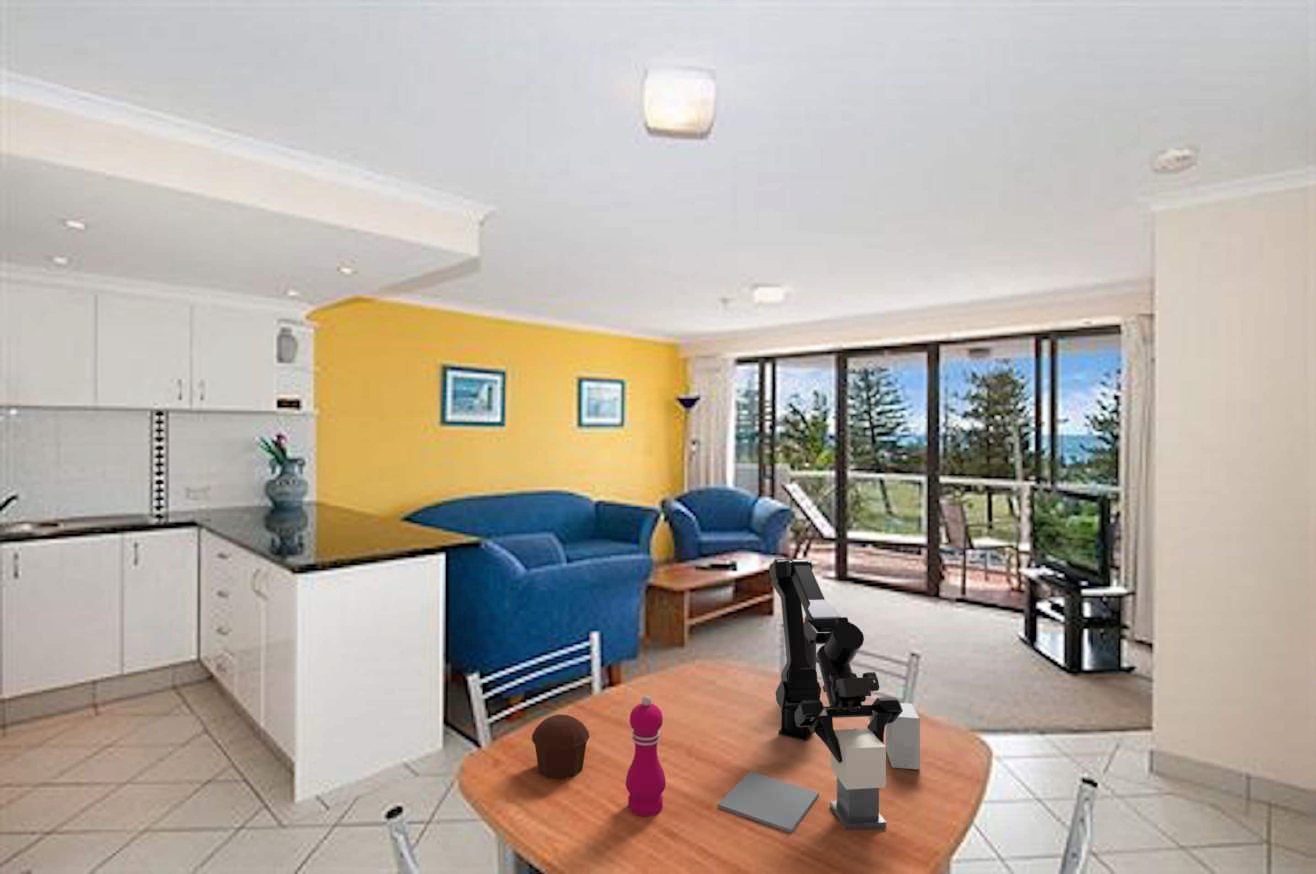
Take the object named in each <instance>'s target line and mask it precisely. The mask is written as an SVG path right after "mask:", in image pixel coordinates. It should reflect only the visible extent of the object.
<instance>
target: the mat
mask: <svg viewBox="0 0 1316 874" xmlns="http://www.w3.org/2000/svg"><path fill="white" fill-rule="evenodd" d="M819 796H820V793H819V791H815V790H812V789H809V788H806V787H802V786H799V785H796V784H793V783H790V782H786V781H785V780H780V779H776V778H773V777H770V776H767V775H763V774H761V773H757V772H754V771H749V772H748V773H747V774H746V775H745V776H744V777H743V778H742V779H741V780H740V781H739V782H738V783H737V784H736V785H735V786H734V787H733V788H732V789H731V790H730V791H729V792H728V793H727V794H726V795H725V796H724V797H723V798H722V799H721V800H720V801H719V802H718V803H717V808H718V809H722V810H724V811H727V812H729V813H731V814H732V813H733V814H735V815H737V816H740V817H744V818H747V819H748V820H749V819H750V820H751V821H754V822H758V823H760V824H763V825H766V826H769V827H772V828H775V829H778V830H781V831H783V832H786V833H789V834H792V833H793V831H795V830H796V829H797V826H798V825H799V824H800V822H801V821H802V820H803V818H804V817H805V815H806V814H807V812H808V811H809V810H810V808H812V806H813V804H814V802H816V800H817V799H818V798H819Z"/></svg>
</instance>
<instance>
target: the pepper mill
mask: <svg viewBox="0 0 1316 874" xmlns="http://www.w3.org/2000/svg"><path fill="white" fill-rule="evenodd" d="M663 722H664V718H663V713H662V710H661V709H660V708H659V707H658V706H657V705H655V704H653V703H652V698H651V697H650V696H649V695H643V696H642V698H641V703H638V704H637V705H636V706H634V707H633V709H632V710H631V712H630V715H629V724H630V727H631V728H632V729H633V730H632V732H631V733H632V737H631V740H632V742H633V743H634V755H633V758H632V762H631V764H630V766H629V767H628V770H627V774H626V778H625V788H626V791H628V796H627V801H628V802H627V807H628V810H629V812H631V813H632V814H634V815H635V816H640V817H650V816H655V815H658V814H659V813H660V812H661V811H662V809H663V807H664V796H663V793H664V791H665V789H666V784H667V783H666V776H665V772H664V769H663V766H662V765H661V762H660V759H659V756H658V743H659V742H660V739H661V737H660V736H661V735H660V734H661V732H660V729H661V727H662V725H663Z"/></svg>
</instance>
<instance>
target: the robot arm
mask: <svg viewBox="0 0 1316 874" xmlns="http://www.w3.org/2000/svg"><path fill="white" fill-rule="evenodd" d="M812 564H813V563H812V562H811V560H809V559H807V558H775V559H774V560H773V563H770V564H769V567H768V568H769V569H768V570H769V577H770V579H771V583H772V587H773V589H774V590H775V591H776V593H777V594H778V595H779V597H780V602H781V611H782V612H781V613H782V623H783V634H784V645H785V656H786V663H785V665H784V667H783V670H782V672H781V674H780V677H781V679H780V682H779V684H778V686H777V688H776V691H775V701H776V703H777V705H778V706H779V707H780V709H781V721H780V722H781V726H780V727H781V728H780V729H778V734H779V735H784V736H788V737H790V738H791V737H792V738H794V739H799V740H802V741H807V740H808V739H809V737H810V736H811V735H812V734H813V733H815V734H816V735H817V736H818V737H819V739H820V740H821V741H822V742H823V743H824V745H825V747H827V749H828V750H829V751H830V754H831V753H832V754H833V756H834V757H835V758H836V760H837V761H838V763H841V762H842V756H841V751H840V748H839V745H838V741H837V738H836V735H835V732H834V730H835V729H834V723H833V721H834V720H833V718H834V719H837V718H859V717H860V718H861V717H865V718H866V717H868V719H869V724H868V725H867V726H866V727H867V728H866V729H869V730H870V731H871V732H872V733H873V734H874V735H875V736H876V737H877V738H878V739H879V740H880V741H881V742H882V743H883V744H884V736H885V730H886V724H889V723H892V722H894V721H895V720H896V719H897V717H898V716H899V715H900V714H901V713H902V711H903V710H902V707H901V704H900V703H901V701H899V700H898V699H897V698H896V697H894V696H890V697H888V696H887V697H886V696H885V697H876V698H875V700H874V701H873V702H872V704H865V705H864V704H862V702H863V703H864V702H865V701H867V697H871V696H872V692H876V691H879V690H880V682H879V679H878V676H877V673H876V672H875V671H871V672H870V671H868V672H863V673H862V677H858V675H857V674H856V672H853V670H852V668H851V667H852V666H851V664H850V663H851V662H852V661H853V660H854V659H855V657H856V655H857V654H858V652H859V650H860V649H861V647H862V646H863V644H864V639H865V638H864V636H865V635H864V634H863V631H862V630H861V629H860V628H859V627H858V626H857V625H856V624H854V623H852V622H850V621H849V618H848V617H847V616H841V615H840V613H839V612H838V610H837V608H836V607H834V606H832V605H831V604H829V603H827V601H826V599H825V596H824V594H823V593H822V590H821V588H820V586H819V583H818V580H817V578H816V577H815V574H814V572H813V565H812ZM803 610H804V612H805V617H804V616H803ZM803 618H805V621H804V623H803ZM805 637H806V638H807V639H808V641H809V642H810V643H811V644H816V645H822V644H823V645H822V646H820V647H819V648H818V650H817V651H816V664H818V665H819V670H820V673H821V677H822V680H823V681H822V682H823V686H822V687H821V684H820V682H819V680H818V672H817V669H816V670H815V668H812V666H811V665H810V664H809V662H808V660H807V651H806V642H805ZM822 690H823V693H826V698H827V701H828V705H829V706H825V705H824V703H823V702H822V701H821V693H822ZM884 745H885V744H884Z"/></svg>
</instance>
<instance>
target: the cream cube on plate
mask: <svg viewBox="0 0 1316 874" xmlns="http://www.w3.org/2000/svg"><path fill="white" fill-rule="evenodd" d="M834 732H835V735H836V738H837V741H838V745H839V748H840V751H841V756H842V762H841V763H838V761H837V760H836V758H835V757H834V756H833V754H832V753H831V752H830V754H831V756H830V757H831V758H830V769H831V771H833V773H834V774H835V776H836V778H837V777H838V779H839V780H840V781H841V783H842V784H843V786H844V787H845V788H846V790H847V789H866V788H879V789H880V788H882V789H884V788H886V779H887V778H886V777H887V776H886V775H887V774H886V771H887V763H886V762H887V751H886V744H883V743H882V742H881V741H880V740H879V739H878V738H877V737H876V736H875V735H874V734H873V733H872V732H871V731H870V730H869V729H868V728H854V729H853V728H850V729H847V728H846V729H834Z"/></svg>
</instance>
